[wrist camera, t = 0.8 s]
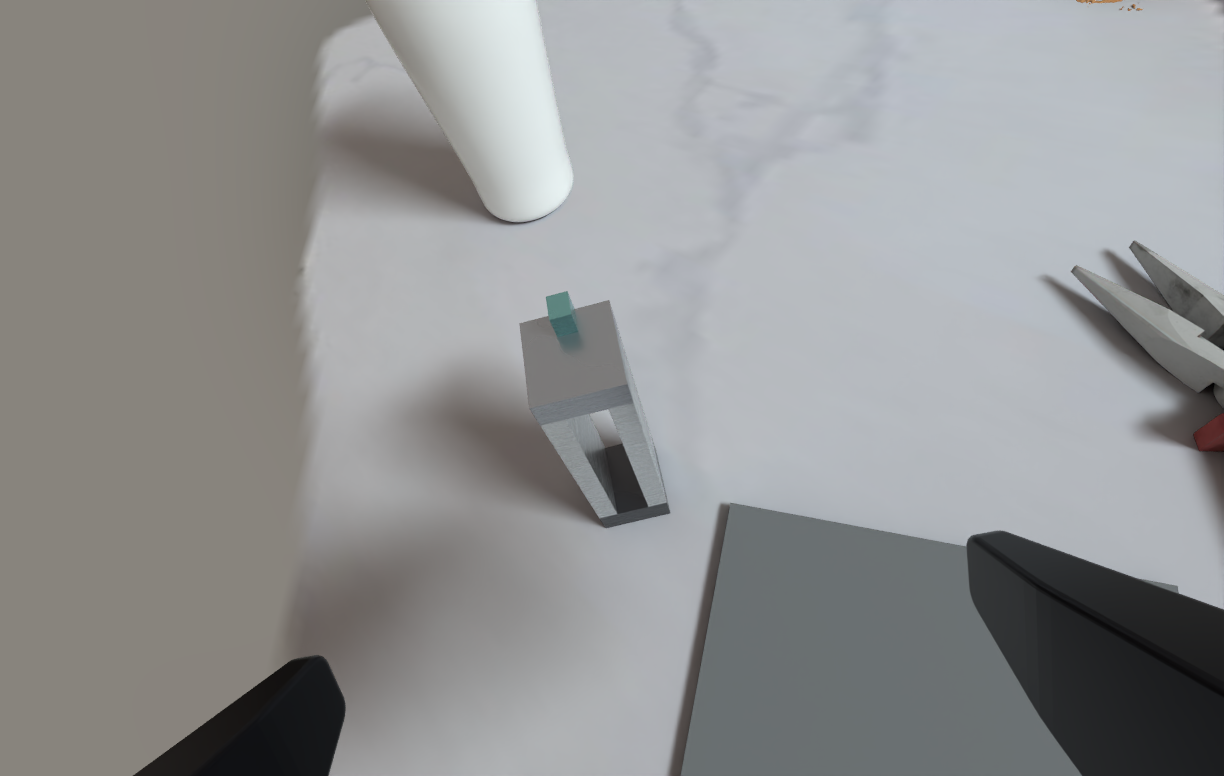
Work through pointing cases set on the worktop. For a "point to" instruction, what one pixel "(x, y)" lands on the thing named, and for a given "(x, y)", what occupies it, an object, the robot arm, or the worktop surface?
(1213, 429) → the pliers
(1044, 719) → the robot arm
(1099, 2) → the pie
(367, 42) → the worktop surface
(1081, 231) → the worktop surface
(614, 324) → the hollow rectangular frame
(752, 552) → the mat
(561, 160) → the white tumbler
